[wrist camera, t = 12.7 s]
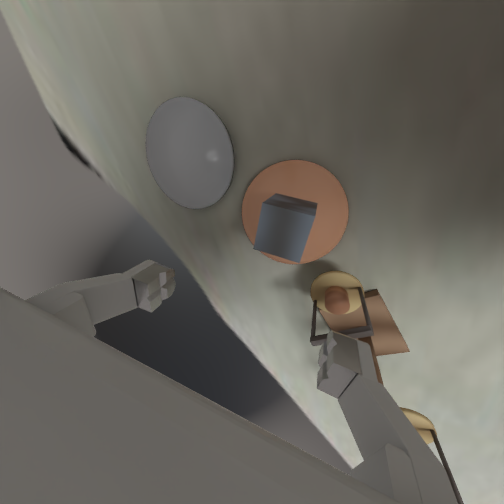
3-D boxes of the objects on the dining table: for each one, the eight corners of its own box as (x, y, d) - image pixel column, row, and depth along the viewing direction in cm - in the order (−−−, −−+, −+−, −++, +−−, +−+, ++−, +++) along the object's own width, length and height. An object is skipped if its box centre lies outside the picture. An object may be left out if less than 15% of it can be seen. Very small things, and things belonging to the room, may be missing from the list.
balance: (423, 376, 29) (506, 559, 15) (366, 380, 32) (393, 529, 19) (355, 248, 24) (390, 354, 11) (298, 271, 28) (275, 369, 15)
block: (317, 203, 22) (315, 216, 17) (304, 241, 25) (299, 263, 20) (276, 193, 23) (262, 202, 18) (267, 230, 26) (253, 248, 21)
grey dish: (242, 107, 22) (238, 104, 21) (230, 216, 28) (226, 219, 27) (148, 93, 24) (140, 90, 23) (155, 195, 31) (150, 197, 30)
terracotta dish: (367, 172, 20) (369, 173, 19) (325, 272, 27) (325, 276, 26) (253, 150, 23) (250, 149, 22) (239, 244, 29) (236, 248, 28)
